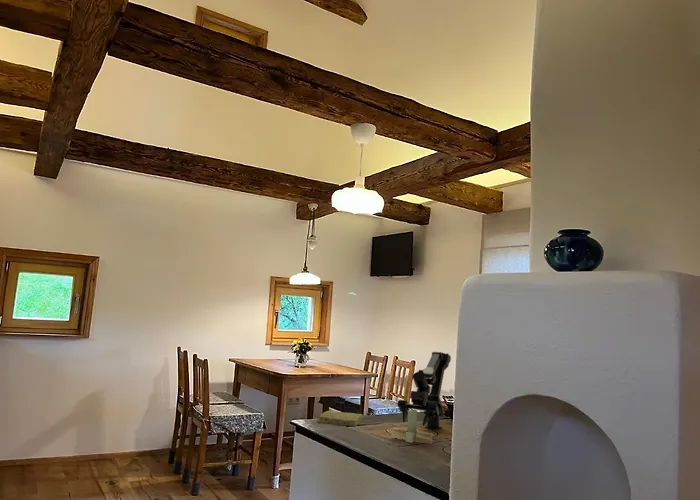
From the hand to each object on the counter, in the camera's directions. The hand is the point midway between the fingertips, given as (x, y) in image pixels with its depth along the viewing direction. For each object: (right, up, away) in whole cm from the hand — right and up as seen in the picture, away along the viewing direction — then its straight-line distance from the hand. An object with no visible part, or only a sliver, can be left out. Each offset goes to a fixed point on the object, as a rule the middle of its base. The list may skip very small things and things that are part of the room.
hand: (413, 423), depth 239 cm
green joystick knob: (-1, -7, -2) cm, 7 cm away
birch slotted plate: (-1, -7, -2) cm, 7 cm away
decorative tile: (-33, -10, +32) cm, 47 cm away
